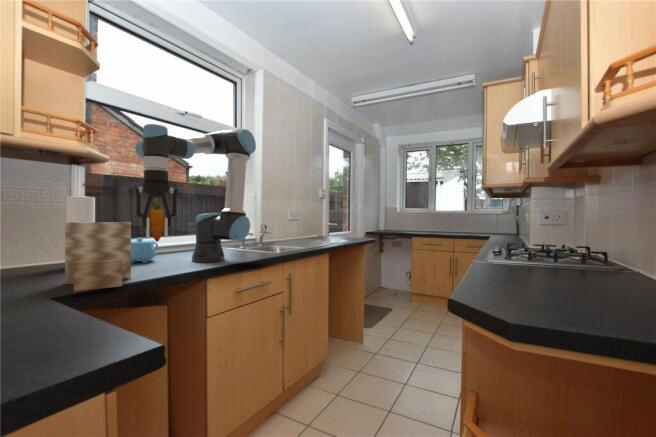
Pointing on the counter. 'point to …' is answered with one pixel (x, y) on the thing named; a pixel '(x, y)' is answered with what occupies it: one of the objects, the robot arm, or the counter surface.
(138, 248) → the teapot
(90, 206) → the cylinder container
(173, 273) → the counter surface
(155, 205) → the carrot
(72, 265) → the beige patterned block
